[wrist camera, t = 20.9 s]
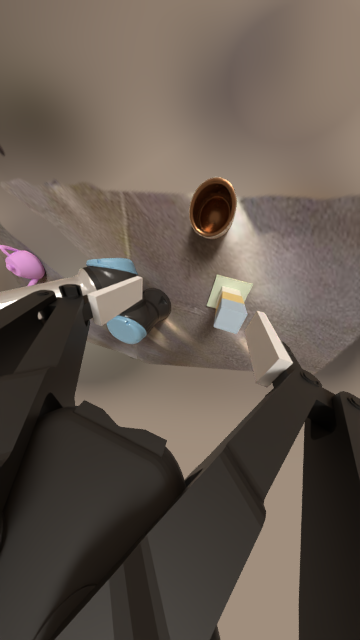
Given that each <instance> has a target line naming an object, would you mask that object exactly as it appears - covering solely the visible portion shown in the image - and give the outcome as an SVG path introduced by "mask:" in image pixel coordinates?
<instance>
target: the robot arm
mask: <svg viewBox="0 0 360 640" xmlns="http://www.w3.org/2000/svg"><path fill="white" fill-rule="evenodd" d="M86 265H87V266H88V267H85V268H80V270H79V272H78V274H77V275H76V276H74V277H70V278H65V279H60V280H55V281H51V282H46V283H41V284H36V285H31V286H27V287H22V288H17V289H13V290H8V291H3V292H0V640H220V636H219V632H218V627H217V623H218V621H219V619H220V616H221V614H222V612H223V610H224V608H225V606H226V603H227V602H228V599H229V597H230V595H231V593H232V591H233V589H234V587H235V584H236V582H237V580H238V578H239V576H240V574H241V572H242V570H243V567H244V565H245V563H246V561H247V559H248V557H249V555H250V553H251V550H252V548H253V546H254V544H255V542H256V540H257V538H258V536H259V533H260V531H261V529H262V527H263V524H264V521H265V517H266V510H265V507H264V499H265V497H266V495H267V493H268V491H269V489H270V487H271V485H272V483H273V481H274V479H275V477H276V475H277V474H278V472H279V470H280V468H281V466H282V464H283V462H284V460H285V458H286V456H287V454H288V452H289V451H290V449H291V447H292V445H293V443H294V441H295V439H296V437H297V435H298V433H299V431H300V429H301V427H302V426H303V424H304V422H305V429H304V461H303V491H302V522H301V553H300V554H301V555H300V557H301V558H300V584H299V585H300V586H299V640H360V399H359V398H357V397H356V396H354V395H352V394H350V393H348V392H344V391H343V392H340V393H338V394H336V395H335V394H333V393H331V392H329V391H328V390H326V389H324V388H322V385H321V383H320V381H319V380H318V379H317V378H316V377H315V376H313V375H312V374H311V373H309V372H307V371H306V370H303V369H302V368H301V366H300V365H299V363H298V361H297V360H296V358H295V357H294V355H293V353H292V352H291V350H290V348H289V347H288V346H287V345H286V344H285V343H284V342H282V341H280V339H279V337H278V336H277V334H276V332H275V330H274V329H273V327H272V325H271V323H270V321H269V320H268V318H267V316H266V314H265V313H263V312H260V311H256V313H255V315H254V316H253V318H252V320H251V321H250V323H249V325H248V326H247V328H246V330H245V335H246V340H247V345H248V349H249V354H250V358H251V363H252V367H253V372H254V376H255V381H256V383H257V384H260V385H262V386H265V387H268V386H269V385H270V384H271V383H273V386H274V389H272V390H271V391H270V392H269V393H268V394H267V395H266V396H265V398H264V399H263V400H262V401H261V402H260V403H259V404H258V405H257V406H256V407H255V408H254V409H253V410H252V411H251V412H250V413H249V414H248V415H247V416H246V417H245V418H244V420H243V421H242V422H241V423H240V424H239V425H238V426H237V427H236V428H235V429H234V430H233V431H232V432H231V433H230V434H229V435H228V436H227V437H226V438H225V439H224V440H223V441H222V442H221V443H220V445H219V446H218V447H217V448H216V449H215V450H214V451H213V452H212V453H211V454H210V455H209V456H208V457H207V458H206V459H205V460H204V461H203V462H202V463H201V464H200V465H199V466H198V467H197V468H196V469H195V470H194V471H193V472H192V473H191V474H190V475H189V476H188V477H187V478H186V479H185V480H184V478H183V475H182V472H181V469H180V467H179V465H178V463H177V461H176V460H175V458H174V456H173V455H172V453H171V452H170V451H169V450H168V449H167V448H166V447H165V445H166V442H167V440H165V439H163V438H161V437H159V436H157V435H155V434H153V433H150V432H149V431H147V430H143V429H134V428H125V427H119V426H118V425H117V424H116V423H115V422H114V421H113V420H112V419H111V418H110V416H109V415H108V414H106V412H105V411H104V410H103V409H101V408H99V407H97V406H95V405H93V404H91V403H89V402H87V401H83V402H82V403H81V404H80V405H79V406H75V400H74V396H75V391H76V386H77V382H78V376H79V372H80V368H81V363H82V358H83V354H84V349H85V344H86V340H87V335H88V331H89V326H90V320H89V319H91V318H93V320H94V323H95V324H98V325H101V326H102V325H104V324H105V323H107V322H108V323H107V327H108V329H109V331H110V332H111V334H112V335H113V336H114V337H116V338H117V339H118V340H120V341H122V342H124V343H128V344H136V343H138V342H140V341H141V340H142V339H143V338H144V337H146V335H147V334H148V333H149V331H150V330H151V329H152V328H153V327H154V325H155V324H156V323H157V322H159V321H162V320H164V319H165V318H166V317H167V316H168V315H169V314H170V311H171V303H170V300H169V298H168V297H167V295H166V294H165V293H164V292H162V291H161V290H159V289H156V288H150V289H147V290H145V291H142V285H143V278H142V277H138V273H137V272H136V269H135V266H134V264H133V262H132V261H131V260H129V259H126V258H104V259H92V260H88V261H87V264H86Z"/></svg>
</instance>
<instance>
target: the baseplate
mask: <svg viewBox="0 0 360 640" xmlns="http://www.w3.org/2000/svg"><path fill="white" fill-rule="evenodd" d="M252 285H253V284H252V283H248V282H244V281H240V280H236V279H232V278H228V277H225V276H221V275H217V277H216V280H215V283H214V286H213V288H212V291H211V294H210V297H209V300H208V303H207V306H209V307H212V308H216V307H217V304H218V302H219V299H220V297H221V294H222V291H224V292H228V293H231V294H235V295H239V296H242V298H243V301H245V299H246V297H247V295H248V293H249V291H250V289H251V287H252Z"/></svg>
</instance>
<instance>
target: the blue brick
mask: <svg viewBox="0 0 360 640" xmlns="http://www.w3.org/2000/svg"><path fill="white" fill-rule="evenodd" d="M246 316H247V311H246V308H245V305H244V304H242V303H238V302H235V301H231V300H227V299H224V298H222V299H221V302H220V304H219V307H218V310H217V312H216V315H215V320H214V327H215V328H218V329H222V330H225V331H228V332H231V333H234V334H237V333H238V331H239V329H240V327H241V325H242V323H243V322H244V320H245V318H246Z"/></svg>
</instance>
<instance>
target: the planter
mask: <svg viewBox="0 0 360 640" xmlns="http://www.w3.org/2000/svg"><path fill="white" fill-rule="evenodd" d="M236 207H237V198H236V193H235V190H234V188H233V186H232V184H231V183H230V182H229V181H228V180H226V179H224V178H222V177H213V178H210V179H207V180H206V181H204V182H203V183H202V184H201V185H200V186H199V187H198V188H197V189H196V191H195V193H194V194H193V196H192V199H191V202H190V207H189V218H190V223H191V225H192V227H193V229H194V231H195V232H196V233H197V234H199V235H200V236H202V237H204V238H207V239H216V238H219V237H221V236H222V235H224V234H225V233H226V232H227V231H228V230H229V228H230V226H231V225H232V222H233V220H234V216H235V212H236Z"/></svg>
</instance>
